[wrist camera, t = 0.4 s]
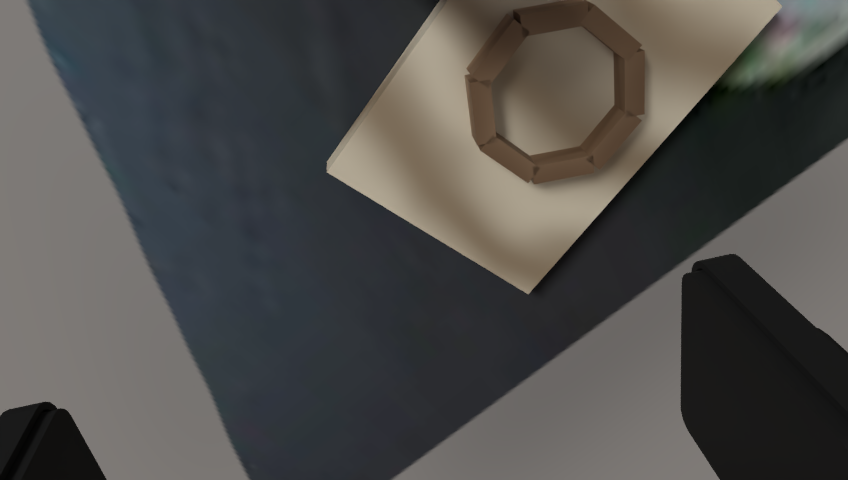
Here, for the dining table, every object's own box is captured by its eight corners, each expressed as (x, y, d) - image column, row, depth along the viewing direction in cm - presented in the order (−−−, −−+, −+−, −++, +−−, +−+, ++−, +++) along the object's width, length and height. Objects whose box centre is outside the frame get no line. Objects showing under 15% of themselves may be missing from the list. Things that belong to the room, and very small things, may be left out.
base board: (571, -189, 31) (594, -194, 28) (765, 1, 36) (800, 11, 33) (327, 161, 37) (326, 183, 35) (522, 281, 42) (534, 308, 40)
